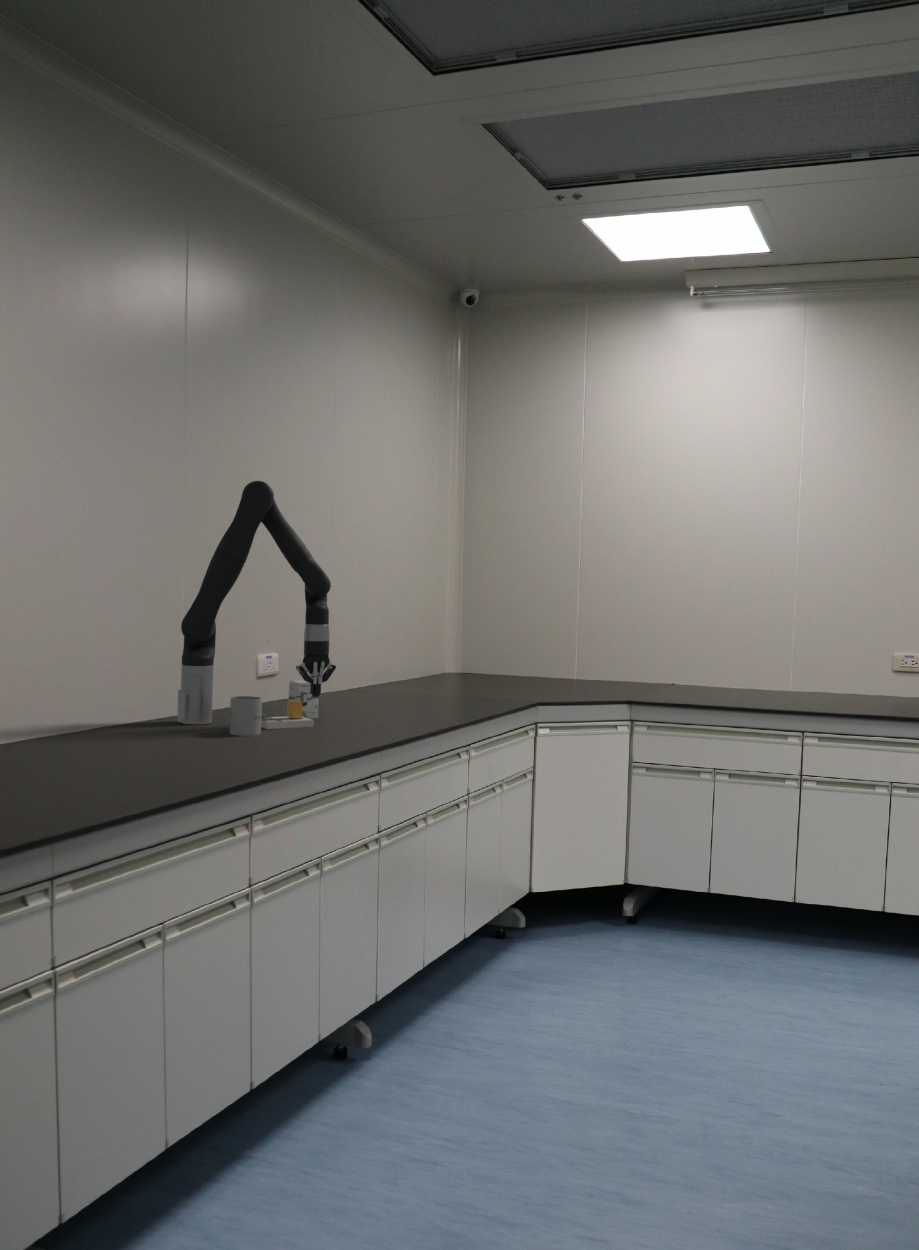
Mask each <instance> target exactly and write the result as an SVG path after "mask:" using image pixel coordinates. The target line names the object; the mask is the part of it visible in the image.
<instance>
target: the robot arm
mask: <svg viewBox="0 0 919 1250" xmlns="http://www.w3.org/2000/svg"><path fill="white" fill-rule="evenodd" d="M260 524H262V525H263V526H264V527H265V528H266V530H267V531H268V533H269V535H271V537H272V539H273V541H274V542H275V544H276V547H278V549H279V551H280V552H281V553H282V555H283V557H284V559H285V560H286V561H287V563H288V564H289V565H290V567H291V568H292V570H293V571H294V572H295V573H297V574H298V576H299V577H300V579H301V580H302V582H303V583H304V599H305V601H304V602H305V615H304V616H305V624H304V633H303V634H304V635H303V659H302V663H301V664H299V665H296V666H295V669H296V670H297V672H298V674H299V675H300V676H301V677H302V680H305V681H306V682H309V683H310V685H311V686H310V689H311V690H310V693H311V694H312V696H314V697H318V696H319V697H320V695H321V694H322V684H323V683H326V682H327V681H328V680H329V679H330V678H331V676H332V675H333V673H334V671H335V670H336V669H337V665H335V664H333V663H331V660H330V658H329V654H330V627H329V626H330V624H329V623H330V622H329V621H330V611H329V609H330V608H329V606H328V593H329V592H330V590H331V587H332V586H331V583H332V582H331V580H330V578H329V576H328V574H326V572H325V571H324V570H323V568H322V567H321V566H320V564H319V563H318V562H317V561H316V560H315V558H314V557H313V555H312V553H311V552H310V550H309V549H308V548H307V546H306V544H305V543H304V542H303V540H302V539H301V538H300V536H299V534H298V533H296V531H295V529H293V527H292V526H291V524H289V522H288V521H287V520H286V518H285V517H284V515H283V513H282V511H281V510H280V508H279V506H278V504H277V502H276V500H275V494H274V490H273V488H272V487H271V485H269V483H267V482H265V481H262V480H254V481H251V482H249V483H247V484H246V485H245V487H244V488H243V490H242V493H241V498H240V501H239V504H238V507H237V510H236V513H235V515H234V518H233V519H232V522H231V523H230V525H229V527H228V528H227V530H226V531H225V533H224V534H223V536H222V538H221V540H220V541H219V543H218V545H217V547H216V549H215V550H214V553H213V555H212V557H211V559H210V562H209V565H208V567H207V569H206V571H205V574H204V577H203V580H202V582H201V584H200V588H199V590H198V593H197V595H196V597H195V599H194V601H193V602H192V604H191V606H190V607H189V609H188V610H187V612H186V614H185V615H184V617H183V618H182V621H181V625H180V626H181V627H180V630H181V634H182V635H183V648H182V649H183V650H182V654H181V669H180V671H181V672H180V673H181V674H180V689H178V690H177V691H178V692H177V719H176V721H177V722H178V723H179V724H183V725H207V724H212V723H213V721H212V720H213V695H214V694H213V693H214V664H215V663H214V661H215V654H216V641H217V639H216V638H217V637H216V636H217V624H216V618H217V616H218V613H219V610H220V607H221V605H222V603H224V602H223V601H224V600H225V598H226V597H227V596H228V594H229V593H230V592H231V589H232V588H233V587H234V586H235V583H236V582H237V580H238V578H239V576H240V574H241V572H242V570H243V568H244V565H245V564H246V562H247V558H248V556H249V554H250V551H251V547H252V546H253V542H254V539H255V536H256V533H257V531H258V528H259V527H260ZM306 670H307V671H308V672H307V671H306Z"/></svg>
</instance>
